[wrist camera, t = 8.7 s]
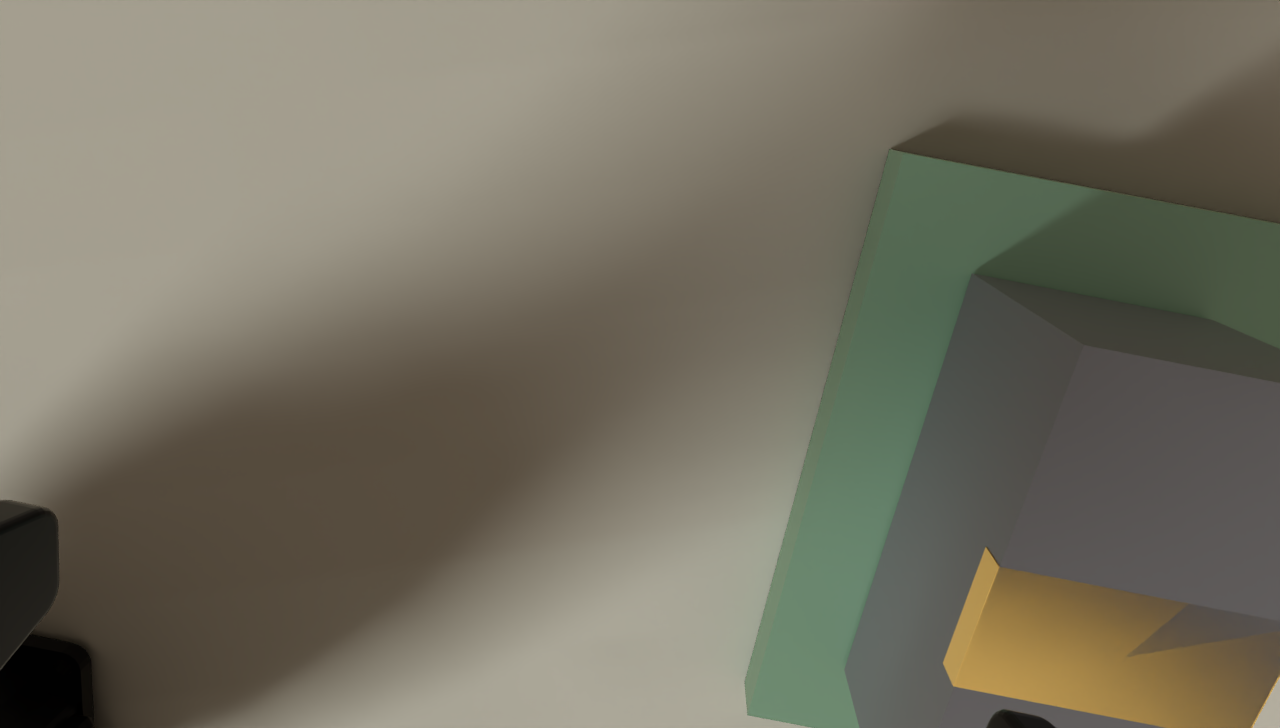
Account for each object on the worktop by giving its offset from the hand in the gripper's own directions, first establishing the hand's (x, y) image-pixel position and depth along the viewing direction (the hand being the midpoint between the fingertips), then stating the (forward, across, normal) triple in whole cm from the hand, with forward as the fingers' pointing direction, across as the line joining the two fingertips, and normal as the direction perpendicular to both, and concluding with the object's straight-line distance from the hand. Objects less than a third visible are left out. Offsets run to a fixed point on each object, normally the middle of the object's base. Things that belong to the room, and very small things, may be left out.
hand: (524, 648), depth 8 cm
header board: (+12, -10, +2) cm, 15 cm away
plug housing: (+10, -10, +2) cm, 14 cm away
